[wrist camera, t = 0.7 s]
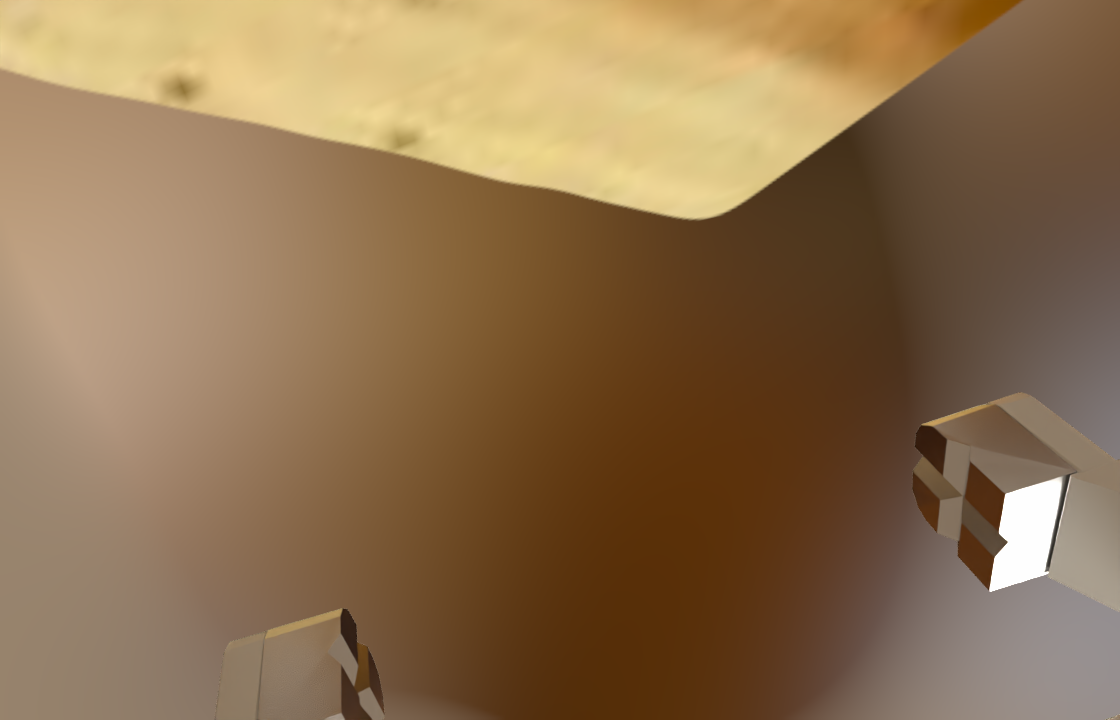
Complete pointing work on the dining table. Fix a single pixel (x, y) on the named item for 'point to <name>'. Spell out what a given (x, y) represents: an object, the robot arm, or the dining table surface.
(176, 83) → the dining table surface
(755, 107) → the dining table surface
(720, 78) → the dining table surface
